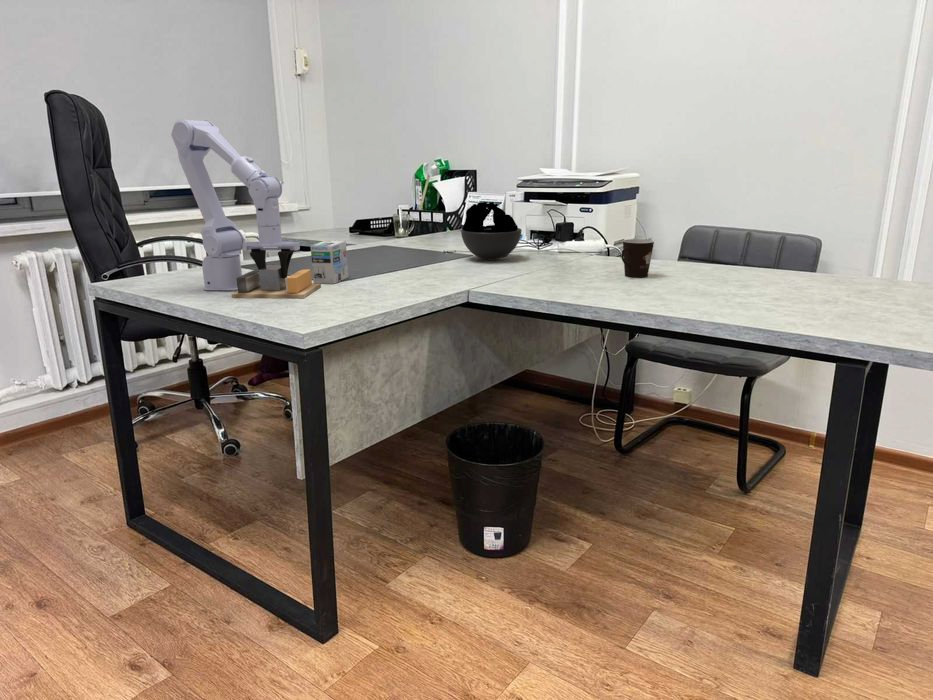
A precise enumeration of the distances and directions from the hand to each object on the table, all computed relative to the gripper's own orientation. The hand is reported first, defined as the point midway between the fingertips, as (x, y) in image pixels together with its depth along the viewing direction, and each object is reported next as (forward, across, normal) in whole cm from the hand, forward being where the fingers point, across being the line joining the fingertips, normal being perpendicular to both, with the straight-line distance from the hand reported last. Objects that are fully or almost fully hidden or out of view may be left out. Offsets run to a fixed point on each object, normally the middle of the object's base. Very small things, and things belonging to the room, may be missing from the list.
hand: (274, 277), depth 173 cm
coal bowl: (+4, +54, +54) cm, 76 cm away
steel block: (+3, 0, 0) cm, 3 cm away
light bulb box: (+4, +10, +17) cm, 20 cm away
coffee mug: (+4, +96, +25) cm, 99 cm away
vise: (+4, 0, 0) cm, 4 cm away
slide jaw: (+3, +7, 0) cm, 7 cm away
